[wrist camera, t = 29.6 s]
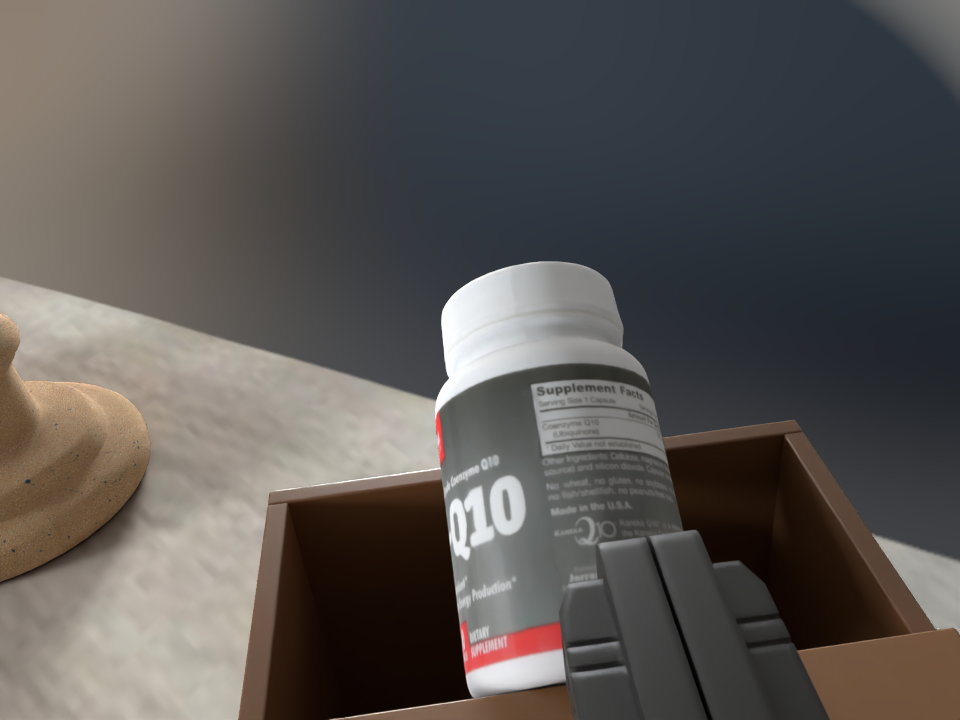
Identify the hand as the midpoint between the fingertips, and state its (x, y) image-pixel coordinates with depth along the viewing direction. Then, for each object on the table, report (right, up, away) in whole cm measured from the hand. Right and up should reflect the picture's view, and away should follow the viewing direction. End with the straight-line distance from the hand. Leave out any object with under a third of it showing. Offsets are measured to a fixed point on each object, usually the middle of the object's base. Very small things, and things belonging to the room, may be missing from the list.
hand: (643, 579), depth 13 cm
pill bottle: (0, -3, +4) cm, 5 cm away
